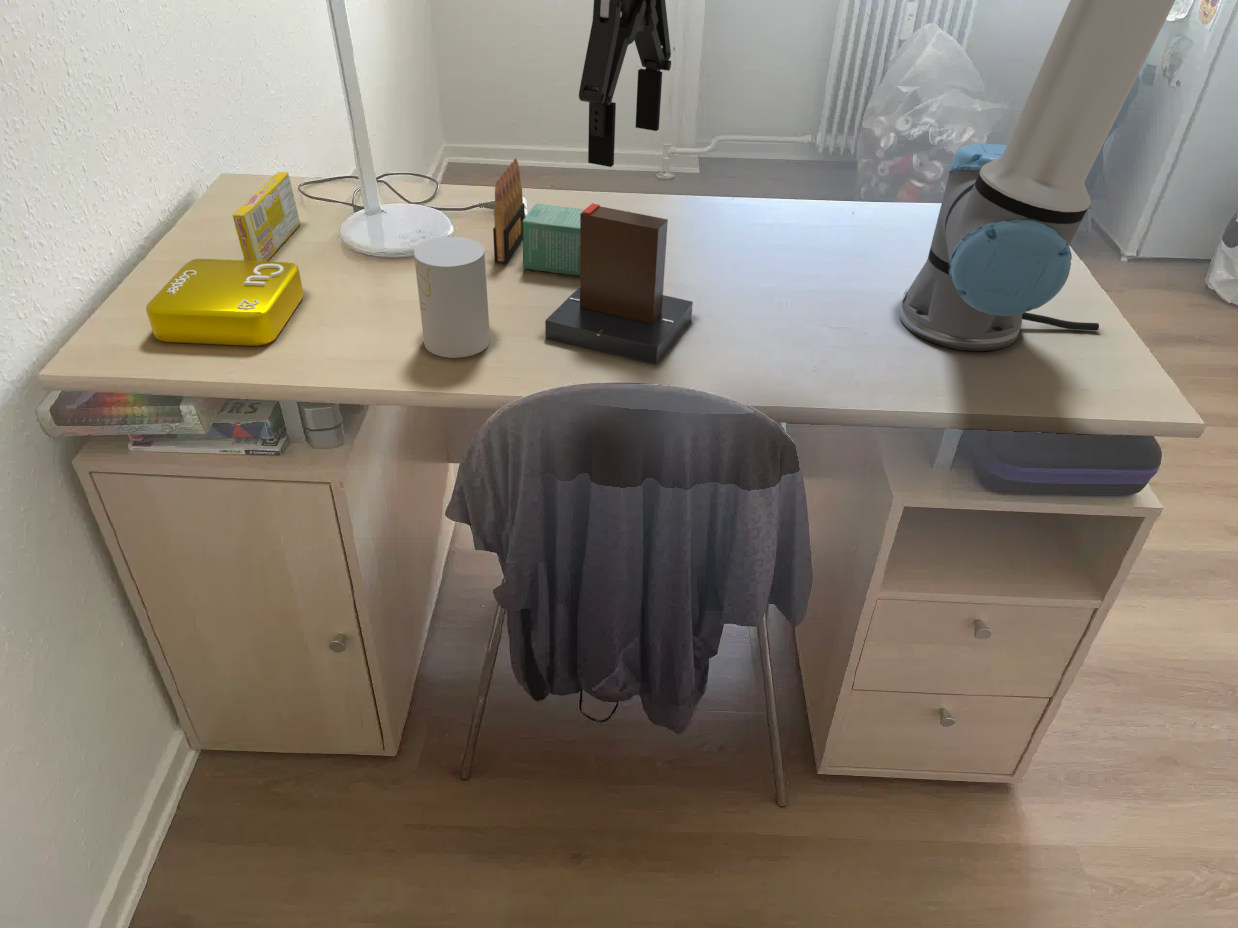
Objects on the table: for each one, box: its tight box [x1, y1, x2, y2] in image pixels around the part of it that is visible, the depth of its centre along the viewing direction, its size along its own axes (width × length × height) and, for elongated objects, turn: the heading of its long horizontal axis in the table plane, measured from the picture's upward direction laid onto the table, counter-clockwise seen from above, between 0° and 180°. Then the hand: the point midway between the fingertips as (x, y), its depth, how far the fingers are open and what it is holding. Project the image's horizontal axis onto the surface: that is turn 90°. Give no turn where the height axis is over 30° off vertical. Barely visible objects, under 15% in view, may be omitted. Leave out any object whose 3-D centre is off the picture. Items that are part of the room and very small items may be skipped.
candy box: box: [232, 171, 301, 262], centre depth 132 cm, size 16×2×8 cm, turn 175°
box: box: [522, 203, 586, 277], centre depth 131 cm, size 7×14×8 cm, turn 79°
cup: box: [413, 236, 491, 359], centre depth 111 cm, size 8×8×12 cm
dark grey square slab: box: [544, 286, 694, 366], centre depth 118 cm, size 15×14×3 cm
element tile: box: [145, 258, 305, 347], centre depth 117 cm, size 15×15×5 cm
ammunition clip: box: [492, 157, 526, 264], centre depth 133 cm, size 11×2×12 cm, turn 170°
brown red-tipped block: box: [579, 203, 669, 324], centre depth 113 cm, size 10×3×13 cm, turn 67°
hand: (625, 145), depth 104 cm, fingers open, 13 cm apart
